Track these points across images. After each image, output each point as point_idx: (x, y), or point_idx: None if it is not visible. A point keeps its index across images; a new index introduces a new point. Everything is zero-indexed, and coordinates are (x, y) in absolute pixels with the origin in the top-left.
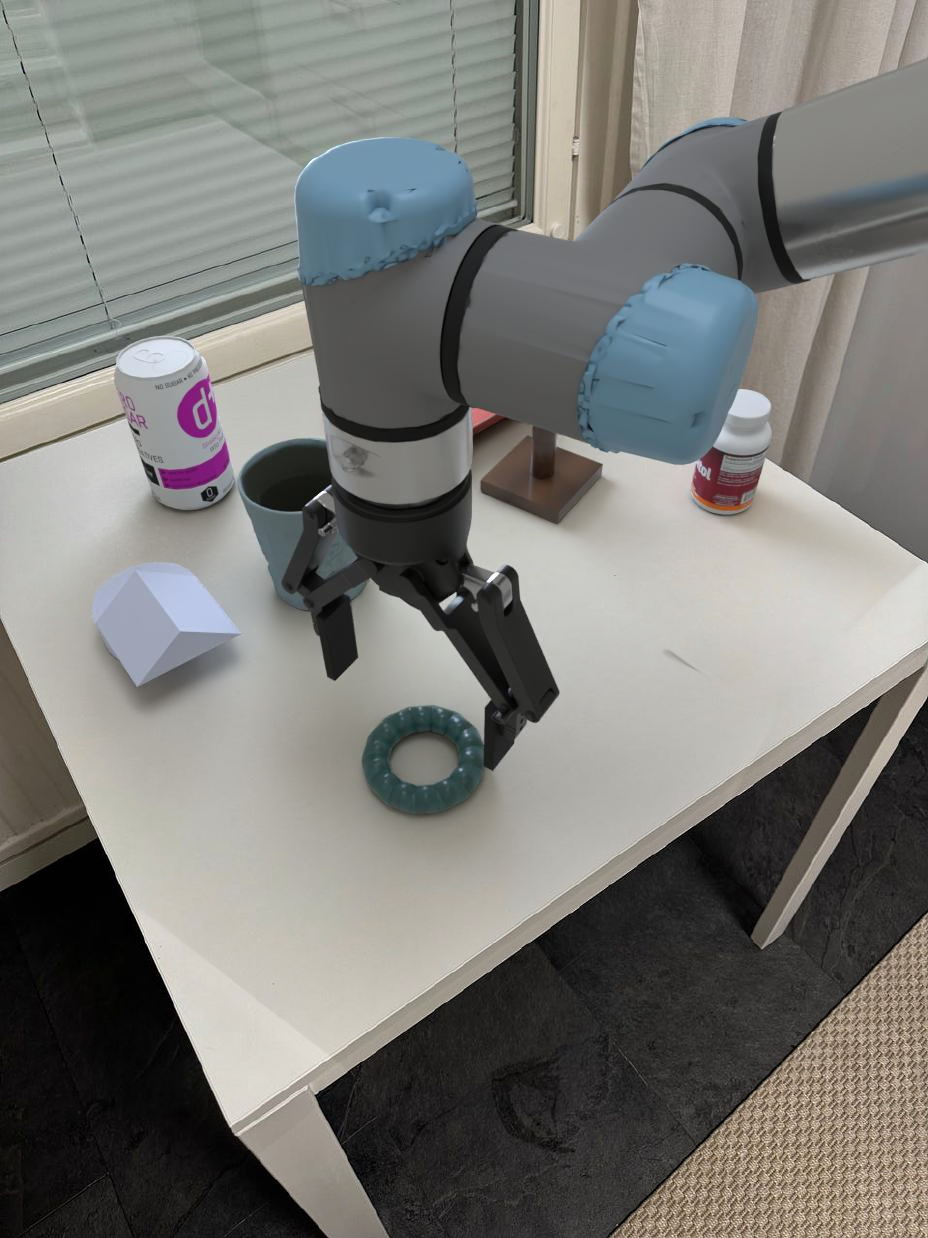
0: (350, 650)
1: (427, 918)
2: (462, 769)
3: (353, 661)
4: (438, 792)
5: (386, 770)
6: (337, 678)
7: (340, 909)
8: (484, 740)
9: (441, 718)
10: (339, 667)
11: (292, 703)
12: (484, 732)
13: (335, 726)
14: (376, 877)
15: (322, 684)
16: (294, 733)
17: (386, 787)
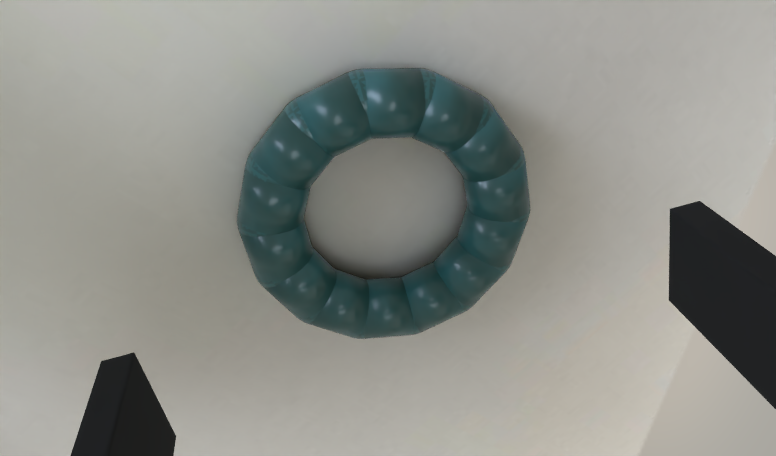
0: (135, 422)
1: (601, 362)
2: (498, 195)
3: (142, 374)
4: (497, 267)
5: (371, 310)
6: (172, 430)
7: (487, 443)
8: (744, 374)
9: (350, 136)
10: (161, 444)
11: (29, 322)
12: (772, 404)
13: (156, 284)
14: (491, 385)
15: (11, 244)
16: (117, 354)
17: (404, 331)
